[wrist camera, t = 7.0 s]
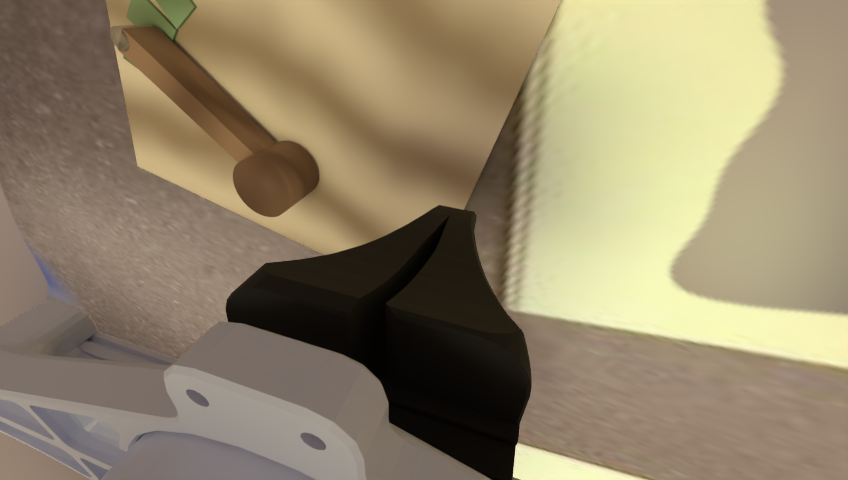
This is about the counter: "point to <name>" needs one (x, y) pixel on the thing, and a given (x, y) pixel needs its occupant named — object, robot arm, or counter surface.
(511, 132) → the counter surface
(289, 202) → the tuning peg
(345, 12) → the dial board
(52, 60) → the counter surface
